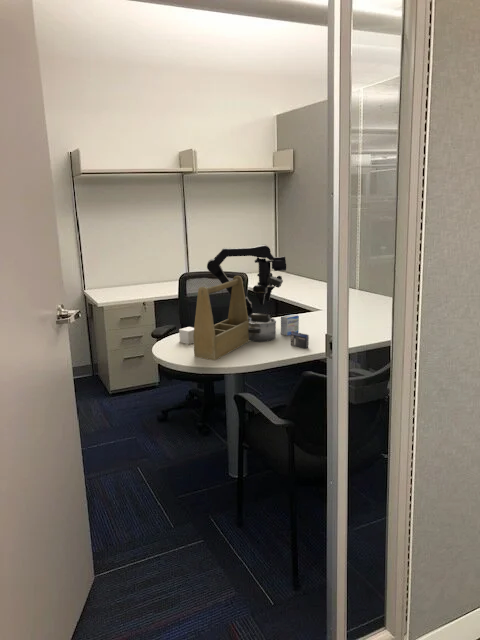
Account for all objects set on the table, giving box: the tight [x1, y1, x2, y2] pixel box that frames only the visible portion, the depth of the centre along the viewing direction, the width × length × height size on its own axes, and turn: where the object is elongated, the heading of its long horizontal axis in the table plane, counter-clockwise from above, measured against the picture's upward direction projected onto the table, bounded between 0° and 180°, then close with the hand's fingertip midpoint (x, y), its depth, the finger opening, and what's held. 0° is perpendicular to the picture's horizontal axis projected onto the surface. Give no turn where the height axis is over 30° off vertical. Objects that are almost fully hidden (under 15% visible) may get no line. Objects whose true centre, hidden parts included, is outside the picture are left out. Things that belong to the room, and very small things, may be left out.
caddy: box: [193, 275, 249, 361], centre depth 217 cm, size 29×11×30 cm, turn 151°
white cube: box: [178, 326, 194, 345], centre depth 232 cm, size 6×6×6 cm
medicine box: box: [280, 314, 300, 336], centre depth 242 cm, size 8×4×9 cm, turn 129°
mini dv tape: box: [290, 332, 310, 350], centre depth 222 cm, size 8×2×6 cm, turn 49°
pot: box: [248, 317, 277, 343], centre depth 236 cm, size 14×19×8 cm
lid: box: [249, 312, 272, 324], centre depth 235 cm, size 10×10×4 cm
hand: (265, 303), depth 248 cm, fingers open, 9 cm apart
